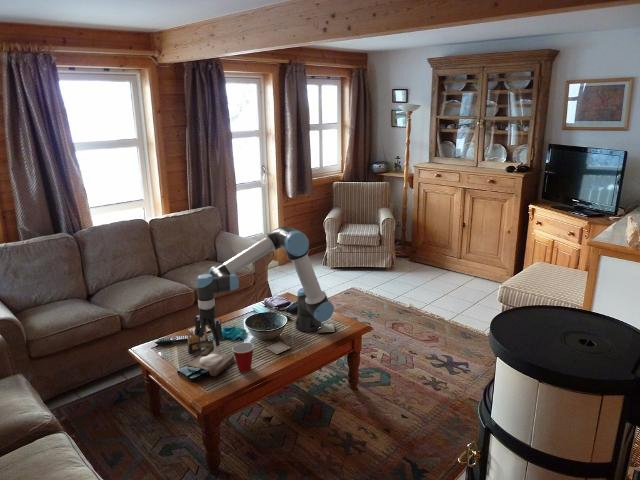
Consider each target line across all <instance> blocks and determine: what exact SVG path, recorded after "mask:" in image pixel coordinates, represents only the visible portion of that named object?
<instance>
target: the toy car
mask: <svg viewBox="0 0 640 480" xmlns="http://www.w3.org/2000/svg"><path fill="white" fill-rule="evenodd" d="M221 328H222V334H223V338H222V339H221V340H220V341H222V340H225V339H231V340H232V341H236V340H237V341H241V340H243V341H244V340H245V338H246V335H247V330H246V329H245V328H244V327H243V328H241V327H236V326H235V325H233V326H229V327H227V326H226V327H221ZM211 338H212V339H211V340H213V341H214V340H215V338H214V336H213V335H212V337H211Z"/></svg>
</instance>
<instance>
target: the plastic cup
mask: <svg viewBox="0 0 640 480" xmlns="http://www.w3.org/2000/svg"><path fill="white" fill-rule="evenodd" d="M254 349H255V344H254V343H251V342H240V343H237V344H234V345H233V346H232V347H231V350H232V352H233V355H234V360H235V362H236V366H237V369H238V371H239V372H241V373H247V372H249V371H251V369H252V362H253V354H254Z"/></svg>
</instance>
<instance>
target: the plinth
mask: <svg viewBox="0 0 640 480" xmlns="http://www.w3.org/2000/svg"><path fill="white" fill-rule="evenodd" d="M234 361H235V355H234V354H233V355H232V354H229V353H224V352H220V351H218V352H217V353H215V352H214V350H213V351H212V352H211V353H210V354H209V355H208V356H205V357H201V355H198V356H197V357H195V358H194V359H193V360H191V362H189V363H188V364H187V368H188V367H194V368H200V369H204V370H208V371H209V373H210V375H209V376H212V377H217V376H218V375H219V374H220V373H221V372H222V371H224V370H225V369H226V368H227V367H228V366H229V365H231V364H232V363H233V362H234Z"/></svg>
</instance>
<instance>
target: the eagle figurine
mask: <svg viewBox="0 0 640 480" xmlns="http://www.w3.org/2000/svg"><path fill="white" fill-rule="evenodd" d="M196 346H197V348H204V347H207V348H206V349H204V351H202V352H201V353H200V355H201V357H205V356H208V355H209V354H210V353H211V352H212V351H214V340H213V339H211V338H209V340H208V341H204V340H203V341H200V342H198V343H197V345H196ZM200 355H199V356H200Z"/></svg>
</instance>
